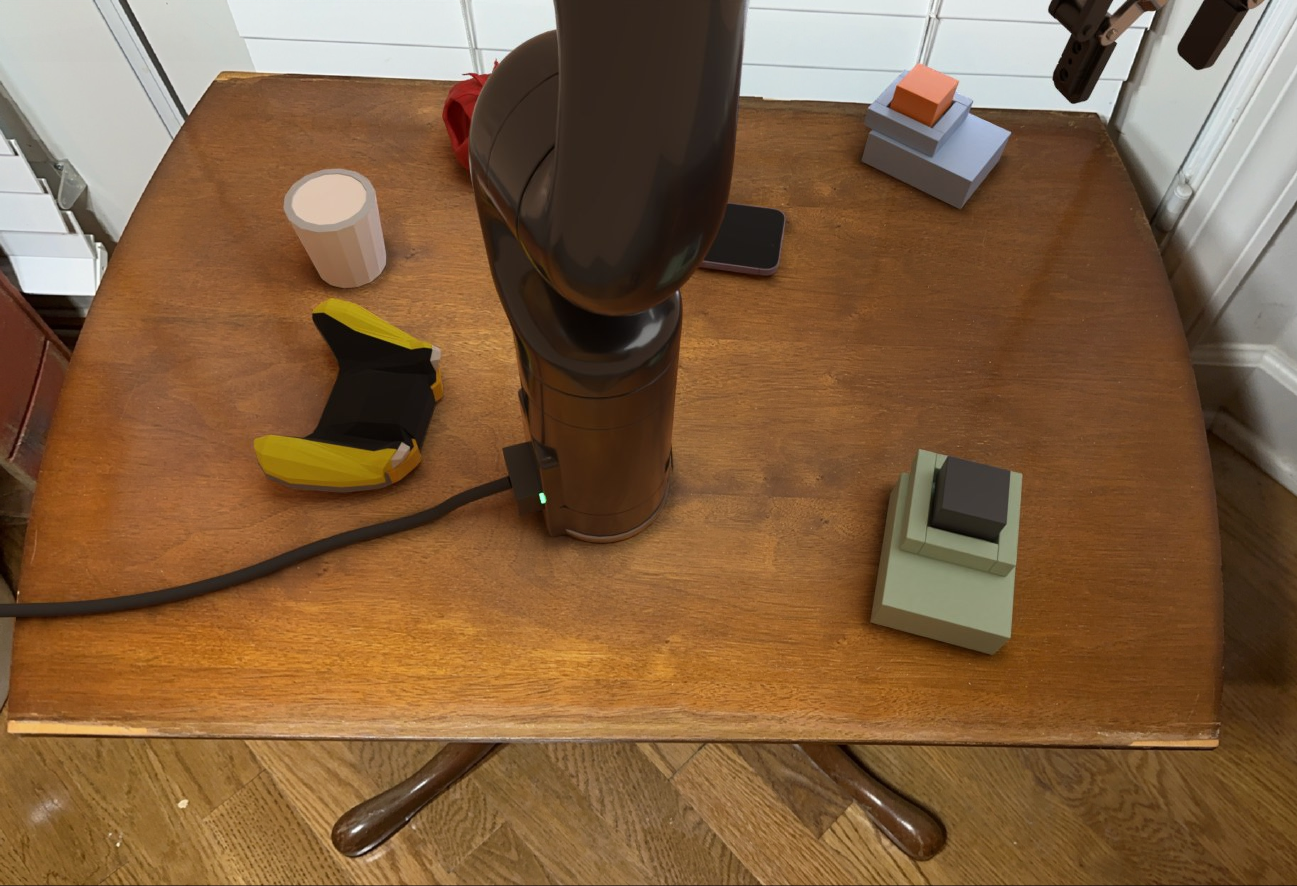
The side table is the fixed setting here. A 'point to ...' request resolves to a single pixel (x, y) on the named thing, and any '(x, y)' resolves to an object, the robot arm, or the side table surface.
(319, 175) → the pale pink cylinder
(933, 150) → the blue-grey socket block
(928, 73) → the orange key
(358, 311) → the gaming controller
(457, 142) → the pomegranate
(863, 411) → the side table surface
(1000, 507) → the charcoal key
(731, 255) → the smartphone
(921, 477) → the green stepped block
